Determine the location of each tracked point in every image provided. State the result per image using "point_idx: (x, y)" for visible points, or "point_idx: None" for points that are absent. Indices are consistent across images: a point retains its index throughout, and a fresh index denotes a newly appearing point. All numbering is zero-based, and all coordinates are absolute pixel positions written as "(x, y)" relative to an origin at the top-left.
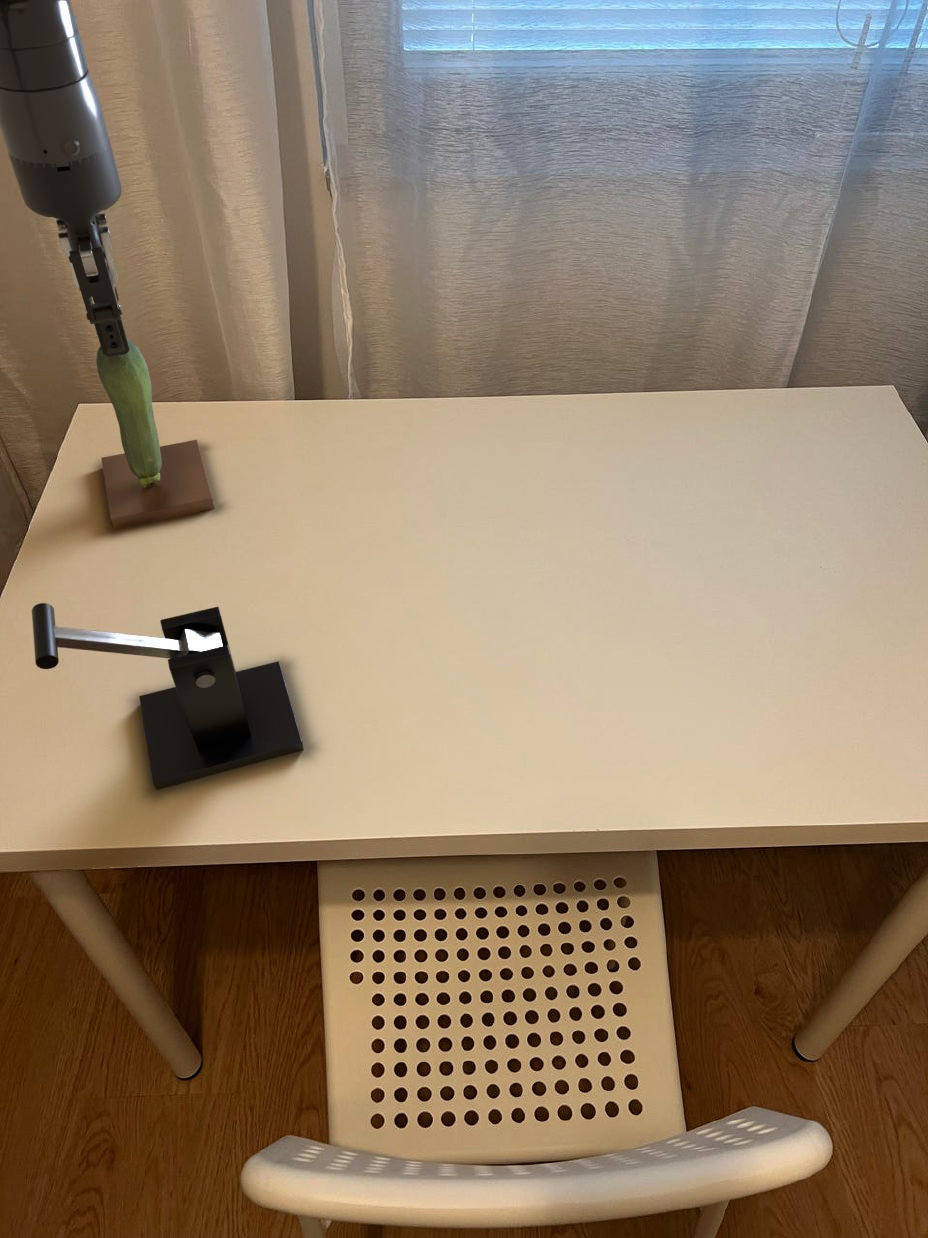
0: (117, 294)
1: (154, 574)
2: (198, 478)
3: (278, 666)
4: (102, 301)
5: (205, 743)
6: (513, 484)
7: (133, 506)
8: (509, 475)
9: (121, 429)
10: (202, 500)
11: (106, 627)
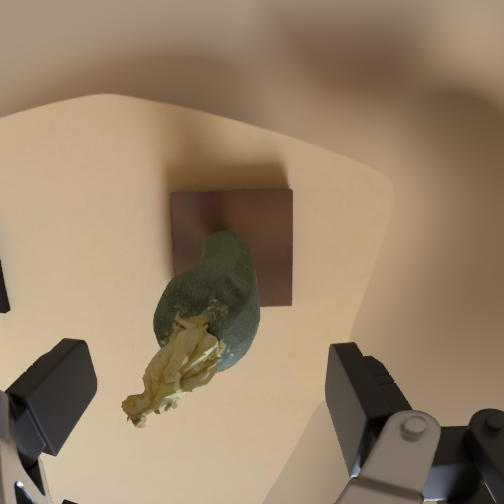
0: (329, 409)
1: (102, 229)
2: None
3: (2, 311)
4: (331, 364)
5: None
6: (172, 488)
7: (185, 220)
8: (182, 490)
9: (212, 247)
10: None
11: (54, 182)
